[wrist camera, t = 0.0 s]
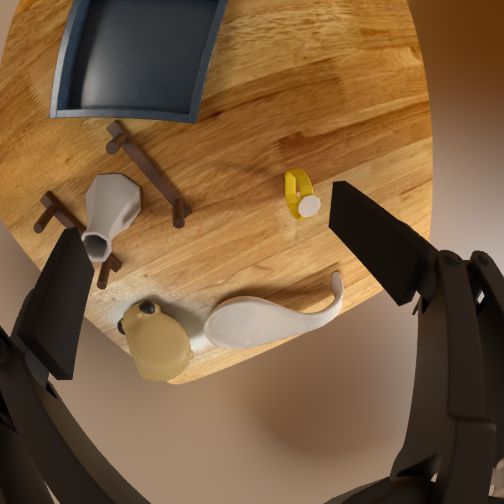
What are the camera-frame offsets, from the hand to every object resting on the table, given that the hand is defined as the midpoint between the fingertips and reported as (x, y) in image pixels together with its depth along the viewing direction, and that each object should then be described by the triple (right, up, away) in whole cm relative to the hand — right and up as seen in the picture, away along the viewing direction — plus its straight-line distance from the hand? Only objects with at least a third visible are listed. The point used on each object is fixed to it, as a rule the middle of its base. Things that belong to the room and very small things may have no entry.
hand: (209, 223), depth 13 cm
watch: (+7, +7, +21) cm, 23 cm away
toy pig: (-14, -12, +28) cm, 33 cm away
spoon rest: (+5, -9, +32) cm, 34 cm away
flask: (-14, +5, +16) cm, 22 cm away
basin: (-9, +19, +7) cm, 23 cm away
